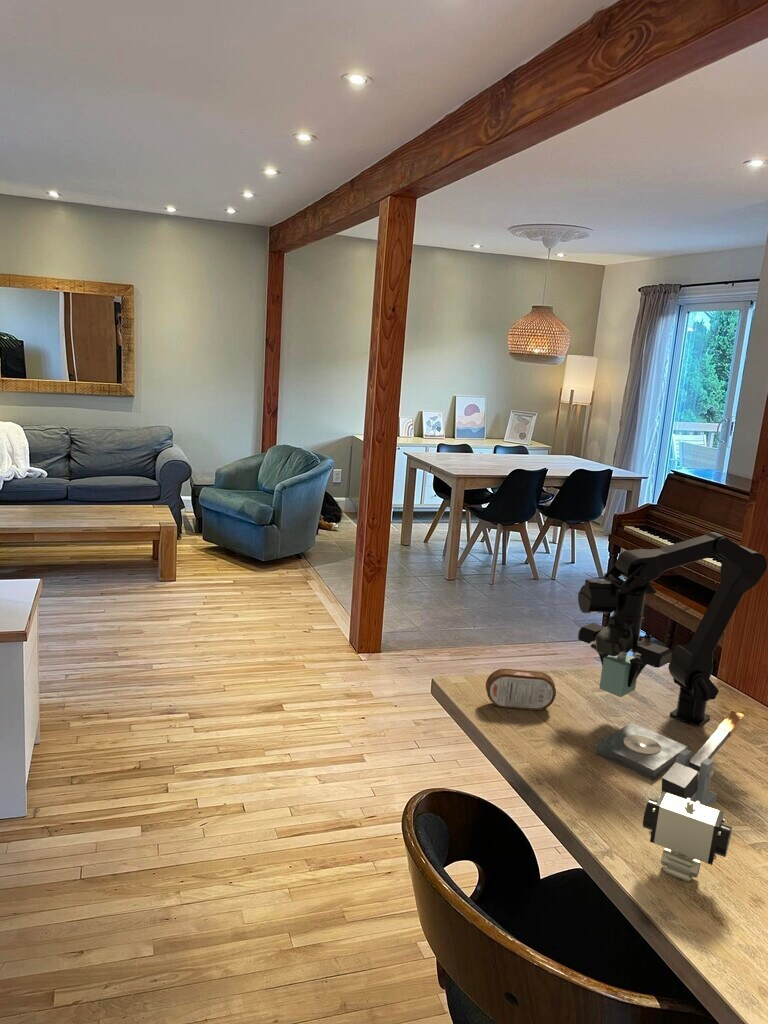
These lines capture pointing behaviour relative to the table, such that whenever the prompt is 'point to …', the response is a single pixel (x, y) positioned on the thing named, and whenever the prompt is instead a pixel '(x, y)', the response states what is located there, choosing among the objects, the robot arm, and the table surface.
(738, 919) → the table surface
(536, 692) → the tin
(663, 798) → the pneumatic valve
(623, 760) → the press bed
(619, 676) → the block
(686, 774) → the lever
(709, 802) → the lever stand
